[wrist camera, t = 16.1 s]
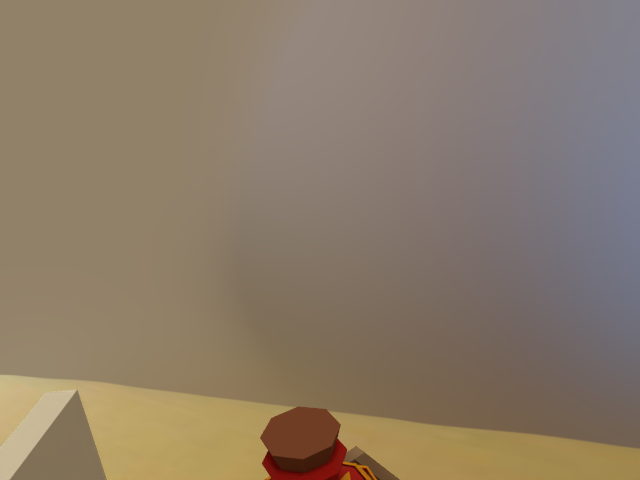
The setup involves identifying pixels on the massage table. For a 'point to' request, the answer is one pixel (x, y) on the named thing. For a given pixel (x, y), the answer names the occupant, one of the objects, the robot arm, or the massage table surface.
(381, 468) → the dolly
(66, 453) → the robot arm
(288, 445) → the potion bottle
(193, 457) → the massage table surface
